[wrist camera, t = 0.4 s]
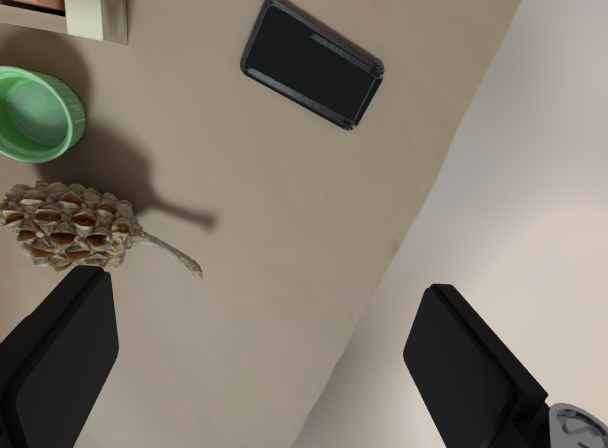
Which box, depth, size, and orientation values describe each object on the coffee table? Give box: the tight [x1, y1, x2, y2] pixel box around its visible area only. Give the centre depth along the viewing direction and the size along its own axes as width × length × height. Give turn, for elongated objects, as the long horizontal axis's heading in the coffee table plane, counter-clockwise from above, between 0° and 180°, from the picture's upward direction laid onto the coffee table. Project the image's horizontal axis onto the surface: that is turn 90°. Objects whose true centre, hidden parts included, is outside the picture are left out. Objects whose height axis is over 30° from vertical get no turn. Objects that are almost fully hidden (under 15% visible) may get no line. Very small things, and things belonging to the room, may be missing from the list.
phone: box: [240, 0, 384, 130], centre depth 37 cm, size 8×1×15 cm
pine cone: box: [0, 181, 205, 282], centre depth 38 cm, size 22×10×10 cm, turn 67°
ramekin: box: [0, 66, 86, 163], centre depth 34 cm, size 9×9×4 cm
